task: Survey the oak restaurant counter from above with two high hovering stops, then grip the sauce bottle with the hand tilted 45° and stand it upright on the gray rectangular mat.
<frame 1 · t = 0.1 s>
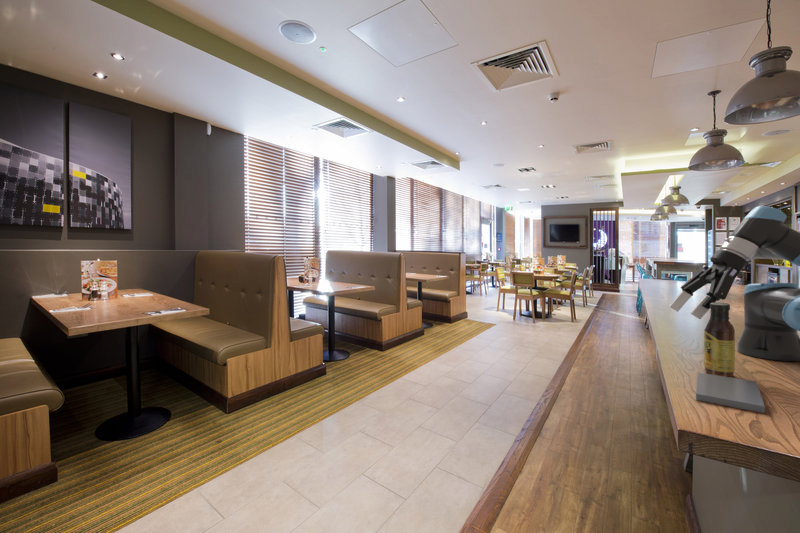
hand: (683, 312, 106), 15 cm above the bar counter, tool tilted 35°, fingers open, 13 cm apart
sauce bottle: (719, 375, 95), on the bar counter
gray rectangular mat: (727, 393, 83), on the bar counter
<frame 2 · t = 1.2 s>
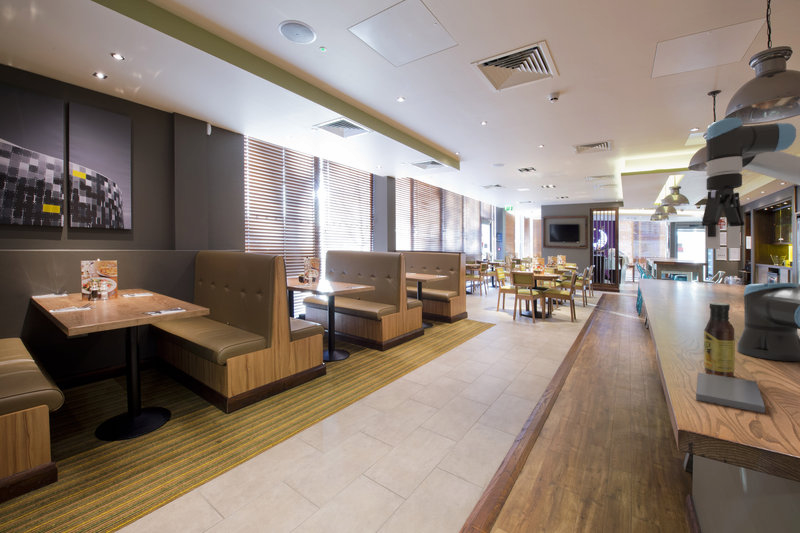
hand: (723, 248, 100), 35 cm above the bar counter, tool pointing down, fingers open, 13 cm apart
nothing on the bar counter moved.
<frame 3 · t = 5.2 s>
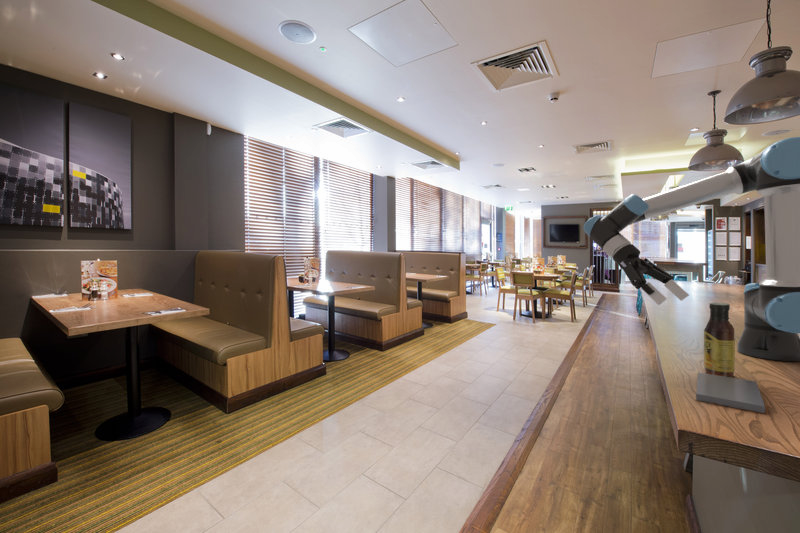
hand: (674, 299, 104), 20 cm above the bar counter, tool tilted 45°, fingers open, 13 cm apart
nothing on the bar counter moved.
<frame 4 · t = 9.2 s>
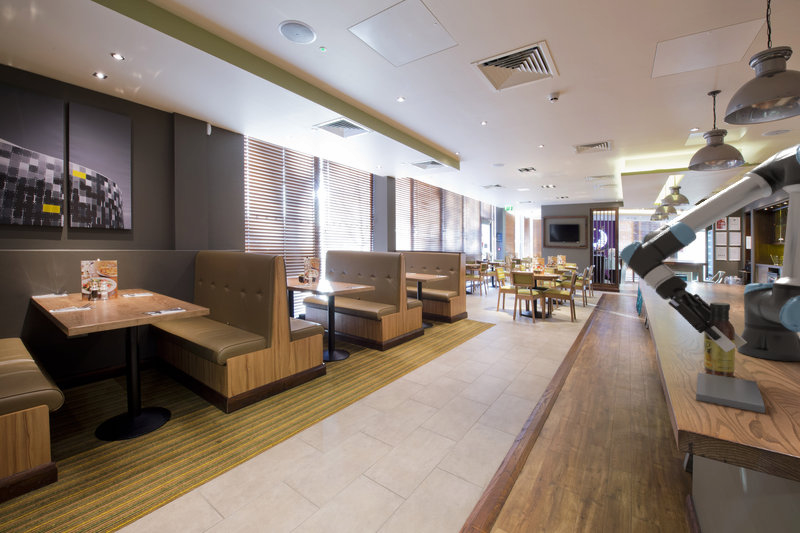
hand: (736, 347, 92), 8 cm above the bar counter, tool tilted 45°, fingers closed on sauce bottle, 6 cm apart
sauce bottle: (719, 375, 95), on the bar counter, touching gripper
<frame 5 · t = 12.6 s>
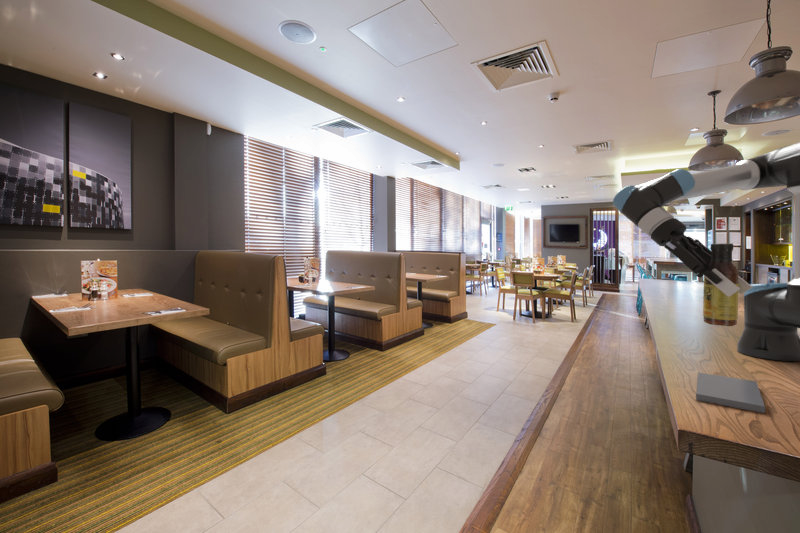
hand: (740, 291, 81), 25 cm above the bar counter, tool tilted 45°, fingers closed on sauce bottle, 6 cm apart
sauce bottle: (719, 325, 85), point 16 cm above the bar counter, touching gripper
when the fingers open (11 cm above the bar counter, at t = 16.4 s): sauce bottle stays where it is, resting on gray rectangular mat.
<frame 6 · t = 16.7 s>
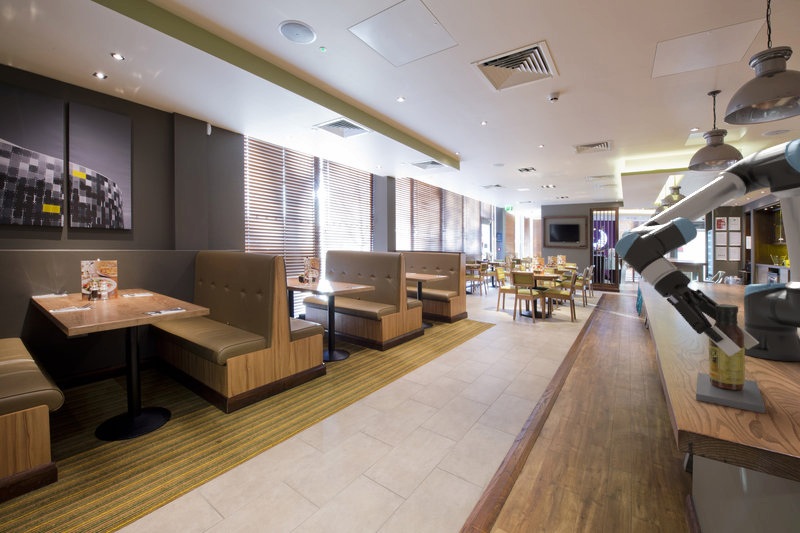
hand: (744, 349, 80), 11 cm above the bar counter, tool tilted 45°, fingers open, 9 cm apart
sauce bottle: (726, 387, 83), point 1 cm above the bar counter, touching gray rectangular mat
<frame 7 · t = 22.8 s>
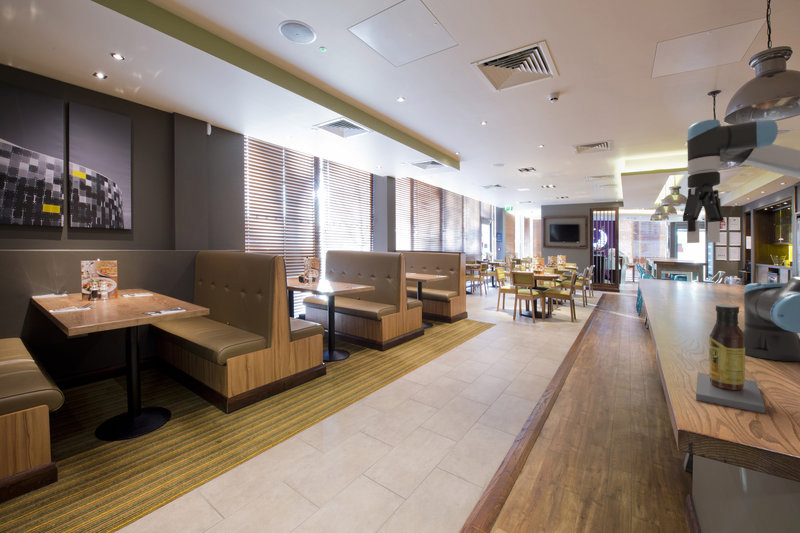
hand: (703, 242, 107), 37 cm above the bar counter, tool pointing down, fingers open, 13 cm apart
nothing on the bar counter moved.
at the end: sauce bottle inside the target area on the gray rectangular mat (0.3 cm from its centre), point 1.3 cm above the gray rectangular mat's base; sauce bottle tilted 0°; the gripper is holding nothing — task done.
